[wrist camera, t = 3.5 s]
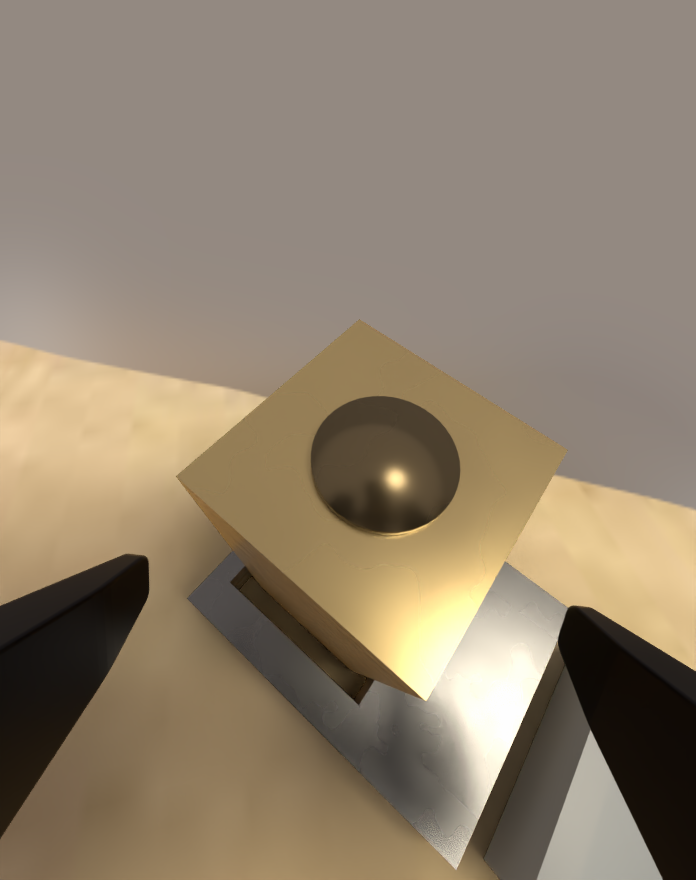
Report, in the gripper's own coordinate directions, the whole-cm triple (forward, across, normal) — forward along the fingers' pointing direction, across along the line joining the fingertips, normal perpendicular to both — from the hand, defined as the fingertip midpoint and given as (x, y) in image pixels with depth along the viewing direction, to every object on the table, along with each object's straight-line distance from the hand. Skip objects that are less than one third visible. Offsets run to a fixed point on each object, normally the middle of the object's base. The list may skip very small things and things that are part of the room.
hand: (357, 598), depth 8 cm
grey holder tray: (+7, -2, +6) cm, 10 cm away
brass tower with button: (+8, 0, +5) cm, 10 cm away
